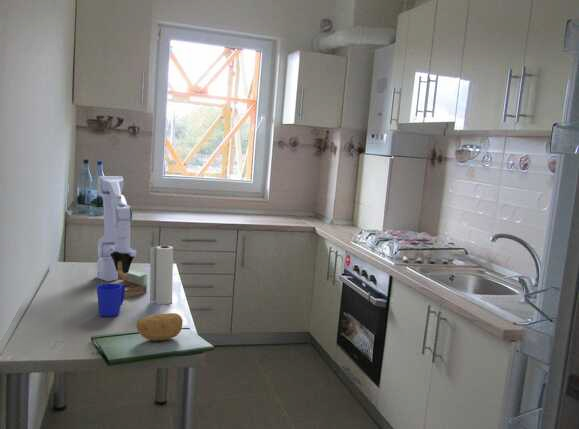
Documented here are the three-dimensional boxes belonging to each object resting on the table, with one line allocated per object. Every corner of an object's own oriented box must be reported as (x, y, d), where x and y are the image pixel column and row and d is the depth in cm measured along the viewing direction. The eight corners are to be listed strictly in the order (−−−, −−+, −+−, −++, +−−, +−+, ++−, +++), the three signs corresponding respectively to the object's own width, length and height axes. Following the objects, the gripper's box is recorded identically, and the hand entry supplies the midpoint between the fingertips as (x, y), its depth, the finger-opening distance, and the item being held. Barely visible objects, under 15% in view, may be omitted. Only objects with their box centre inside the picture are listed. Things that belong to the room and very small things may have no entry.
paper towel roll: (175, 301, 206) (176, 246, 203) (165, 305, 201) (166, 249, 198) (160, 298, 209) (160, 244, 206) (149, 302, 204) (150, 246, 200)
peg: (115, 279, 213) (115, 261, 212) (123, 277, 215) (123, 260, 214) (121, 280, 210) (121, 263, 209) (129, 278, 213) (129, 261, 212)
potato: (134, 336, 170) (134, 311, 168) (179, 332, 175) (179, 308, 174) (137, 348, 161) (138, 322, 160) (185, 343, 166) (186, 318, 165)
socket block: (101, 292, 213) (101, 285, 213) (127, 286, 223) (127, 279, 222) (121, 298, 206) (121, 291, 206) (146, 292, 216) (146, 285, 216)
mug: (133, 309, 195) (133, 282, 193) (111, 319, 183) (111, 291, 182) (113, 306, 197) (114, 279, 196) (91, 316, 186) (91, 287, 185)
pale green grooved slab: (119, 288, 220) (119, 270, 219) (127, 286, 223) (127, 268, 222) (138, 294, 213) (138, 275, 212) (146, 292, 216) (146, 274, 215)
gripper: (102, 235, 211) (102, 269, 213) (125, 241, 203) (125, 276, 205) (117, 233, 217) (117, 267, 219) (141, 239, 209) (140, 273, 211)
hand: (122, 271), depth 212 cm, fingers closed on peg, 3 cm apart
